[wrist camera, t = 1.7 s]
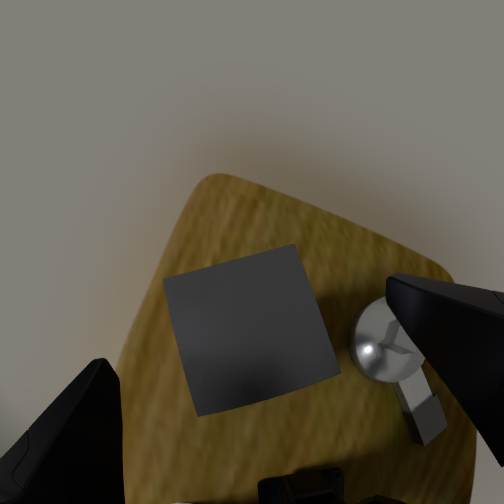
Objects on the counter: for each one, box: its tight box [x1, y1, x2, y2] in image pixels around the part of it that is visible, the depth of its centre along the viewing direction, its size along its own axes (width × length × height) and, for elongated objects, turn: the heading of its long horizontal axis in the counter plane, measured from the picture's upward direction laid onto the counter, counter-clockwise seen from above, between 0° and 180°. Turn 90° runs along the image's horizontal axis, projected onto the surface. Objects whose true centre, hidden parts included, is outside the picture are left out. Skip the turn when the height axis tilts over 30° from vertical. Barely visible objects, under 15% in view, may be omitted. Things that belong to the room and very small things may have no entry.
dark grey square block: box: [163, 244, 341, 417], centre depth 15 cm, size 5×5×11 cm
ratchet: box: [349, 296, 448, 446], centre depth 17 cm, size 13×7×4 cm, turn 25°
